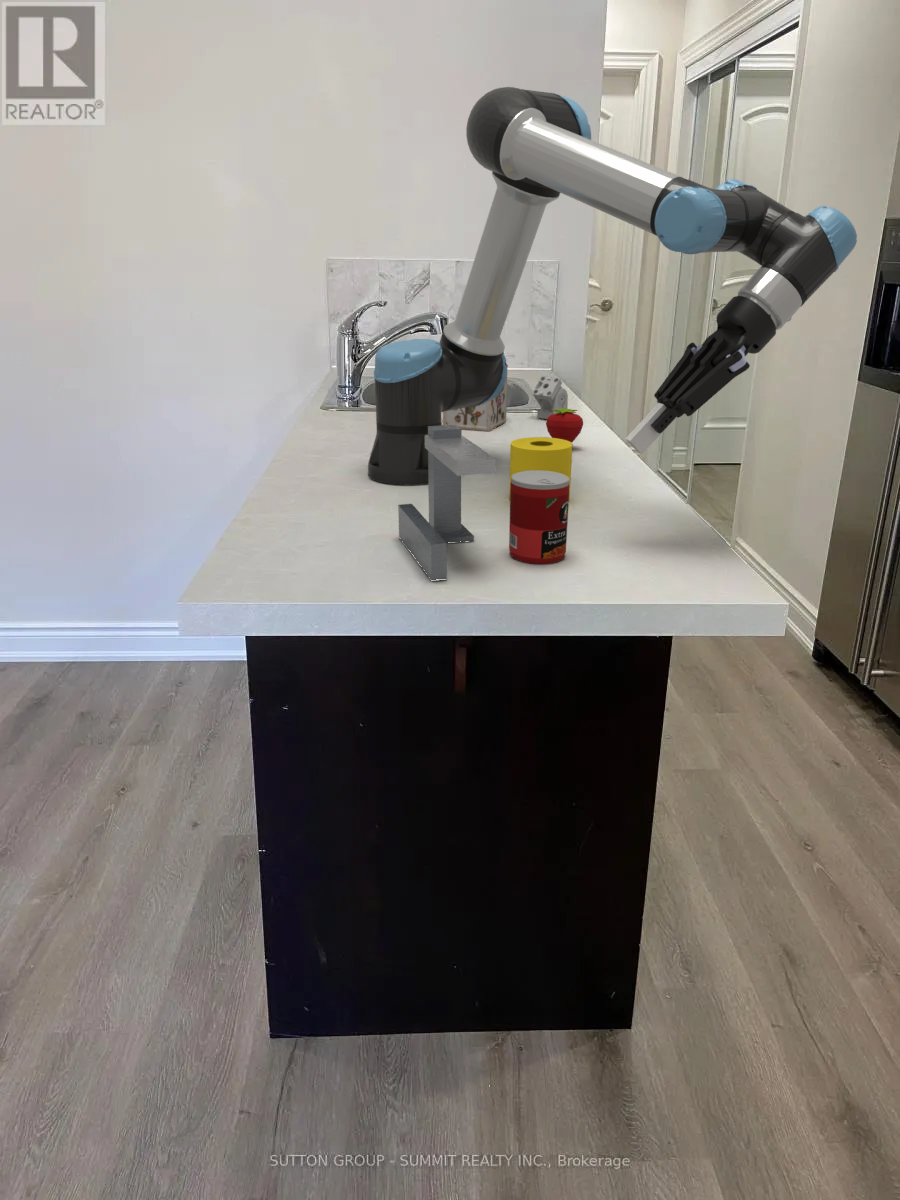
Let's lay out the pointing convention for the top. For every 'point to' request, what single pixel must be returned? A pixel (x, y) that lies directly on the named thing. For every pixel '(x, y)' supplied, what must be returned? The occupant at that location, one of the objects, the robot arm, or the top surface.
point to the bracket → (442, 498)
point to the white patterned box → (480, 414)
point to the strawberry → (564, 424)
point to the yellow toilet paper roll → (541, 456)
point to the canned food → (538, 516)
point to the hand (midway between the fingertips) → (633, 446)
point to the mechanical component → (550, 396)
